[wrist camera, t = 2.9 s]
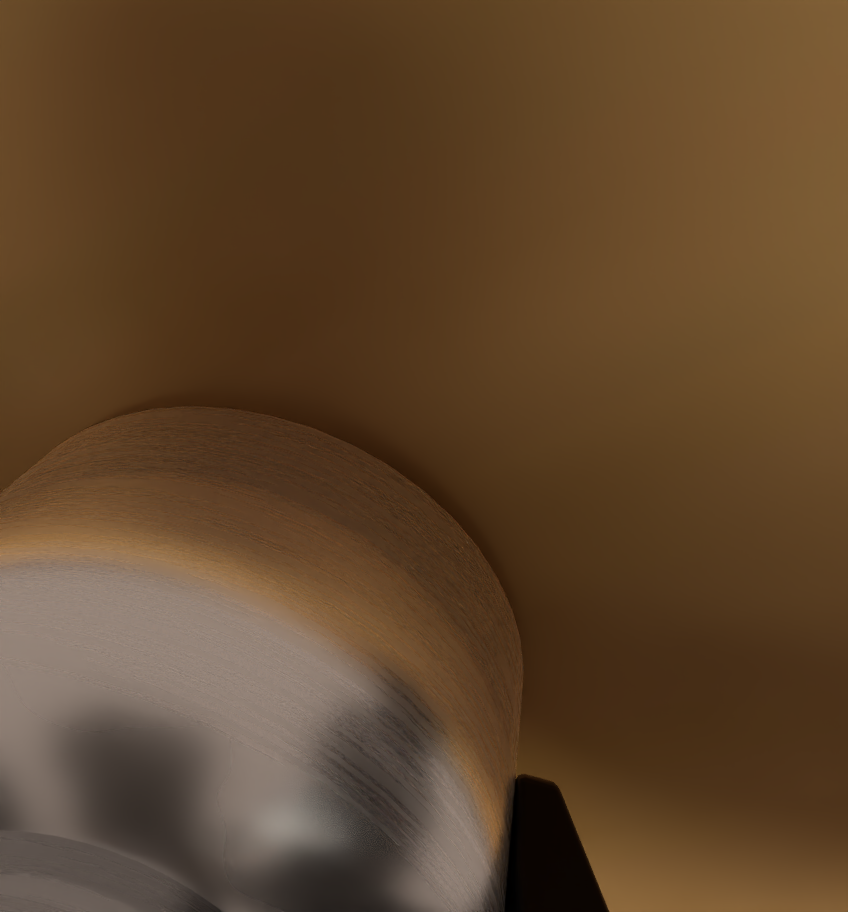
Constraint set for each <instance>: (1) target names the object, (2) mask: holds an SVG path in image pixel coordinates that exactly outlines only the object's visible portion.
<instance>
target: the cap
mask: <svg viewBox="0 0 848 912" xmlns="http://www.w3.org/2000/svg"><path fill="white" fill-rule="evenodd" d="M523 670H524V666H523V657H522V649H521V640H520V635H519V632H518V628H517V625H516V622H515V618H514V615H513V611H512V608H511V605H510V603H509V601H508V599H507V597H506V595H505V592H504V590H503V588H502V586H501V584H500V582H499V579H498V577H497V576H496V574H495V573H494V571H493V569H492V568H491V566H490V565H489V563H488V562H487V560H486V559H485V557H484V555H483V554H482V552H481V551H480V549H479V548H478V546H477V545H476V544H475V543H474V542H473V540H472V539H471V538H470V537H469V536H468V534H467V533H466V532H465V531H464V530H463V529H462V527H461V526H460V525H459V524H458V523H457V522H456V520H455V519H454V518H453V517H452V516H451V515H450V514H449V513H448V512H447V511H446V510H444V509H443V508H442V507H441V506H440V505H439V504H438V503H437V502H436V501H435V500H434V499H432V498H431V497H430V496H429V495H428V494H427V493H426V492H425V491H424V490H423V489H421V488H420V487H418V486H417V485H416V484H414V483H413V482H412V481H410V480H409V479H407V478H406V477H405V476H403V475H402V474H401V473H399V472H398V471H396V470H395V469H394V468H392V467H391V466H389V465H388V464H386V463H384V462H382V461H381V460H379V459H377V458H375V457H374V456H372V455H370V454H368V453H366V452H365V451H363V450H361V449H359V448H358V447H356V446H354V445H352V444H350V443H348V442H345V441H343V440H341V439H338V438H336V437H334V436H331V435H329V434H327V433H324V432H322V431H320V430H317V429H315V428H312V427H309V426H305V425H302V424H299V423H296V422H292V421H289V420H286V419H282V418H279V417H276V416H272V415H266V414H261V413H255V412H250V411H244V410H239V409H233V408H218V407H201V406H185V407H170V408H156V409H150V410H145V411H140V412H136V413H131V414H126V415H122V416H118V417H115V418H112V419H110V420H107V421H104V422H102V423H99V424H96V425H94V426H91V427H88V428H86V429H84V430H83V431H81V432H79V433H77V434H76V435H74V436H72V437H70V438H69V439H67V440H65V441H63V442H62V443H60V444H59V445H57V446H56V447H55V448H54V449H53V450H51V451H50V452H49V453H48V454H47V455H45V456H44V457H43V458H42V459H41V460H39V461H38V462H37V463H36V464H35V465H33V466H32V467H31V468H30V469H29V470H27V471H26V472H25V473H24V474H23V475H21V476H20V477H19V478H18V479H17V480H15V481H14V482H13V483H12V484H11V485H9V486H8V487H7V488H6V489H5V490H3V491H2V492H1V493H0V912H505V903H506V890H507V878H508V865H509V853H510V840H511V828H512V815H513V803H514V790H515V778H516V765H517V752H518V740H519V727H520V715H521V702H522V688H523Z"/></svg>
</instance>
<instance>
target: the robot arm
mask: <svg viewBox="0 0 848 912" xmlns="http://www.w3.org/2000/svg"><path fill="white" fill-rule="evenodd" d="M505 912H609V910H608V907H607V905H606V903H605V900H604V898H603V895H602V893H601V890H600V888H599V885H598V883H597V880H596V878H595V875H594V873H593V870H592V868H591V865H590V863H589V860H588V858H587V856H586V853H585V851H584V848H583V846H582V843H581V841H580V838H579V836H578V833H577V831H576V828H575V826H574V823H573V821H572V818H571V816H570V814H569V811H568V809H567V806H566V804H565V801H564V799H563V796H562V794H561V792H560V789H559V788H558V786H557V785H556V784H555V783H554V782H552V781H549V780H545V779H541V778H537V777H534V776H530V775H526V774H521V775H519V776H518V777H517V778H516V779H515V790H514V803H513V815H512V828H511V840H510V853H509V865H508V878H507V890H506V903H505Z"/></svg>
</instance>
